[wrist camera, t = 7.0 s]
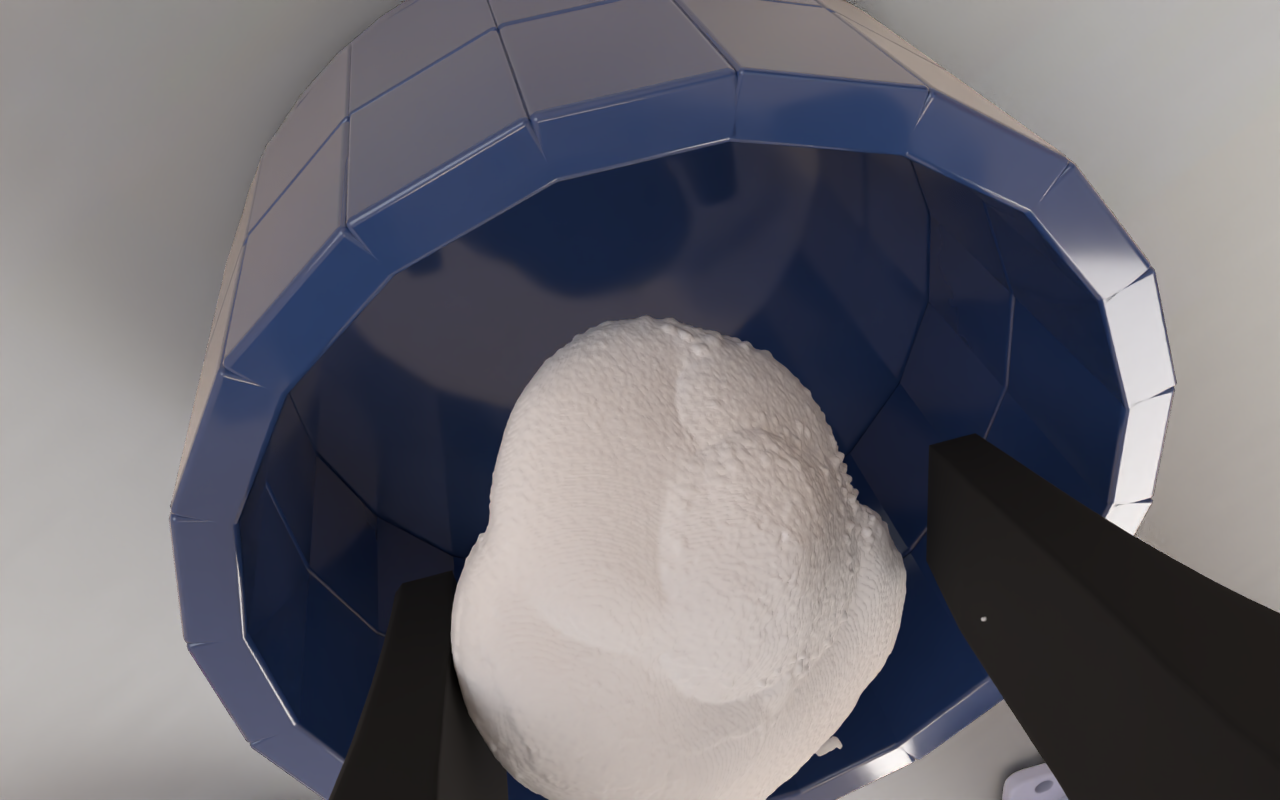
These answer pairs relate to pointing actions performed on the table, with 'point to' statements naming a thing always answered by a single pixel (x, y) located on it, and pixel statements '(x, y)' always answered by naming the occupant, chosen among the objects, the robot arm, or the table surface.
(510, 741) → the dumpling
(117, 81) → the table surface
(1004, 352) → the pot
